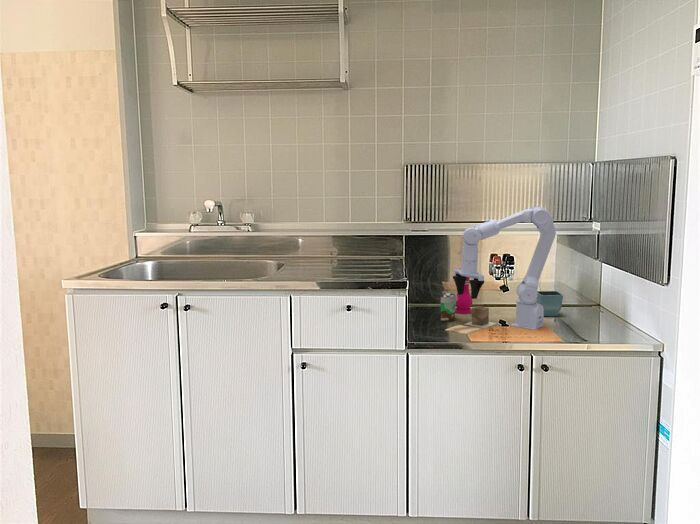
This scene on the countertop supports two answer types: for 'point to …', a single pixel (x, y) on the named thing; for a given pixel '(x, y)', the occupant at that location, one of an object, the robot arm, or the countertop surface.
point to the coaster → (462, 329)
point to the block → (480, 315)
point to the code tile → (480, 325)
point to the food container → (448, 306)
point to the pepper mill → (464, 300)
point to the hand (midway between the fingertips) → (467, 296)
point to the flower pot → (550, 302)
